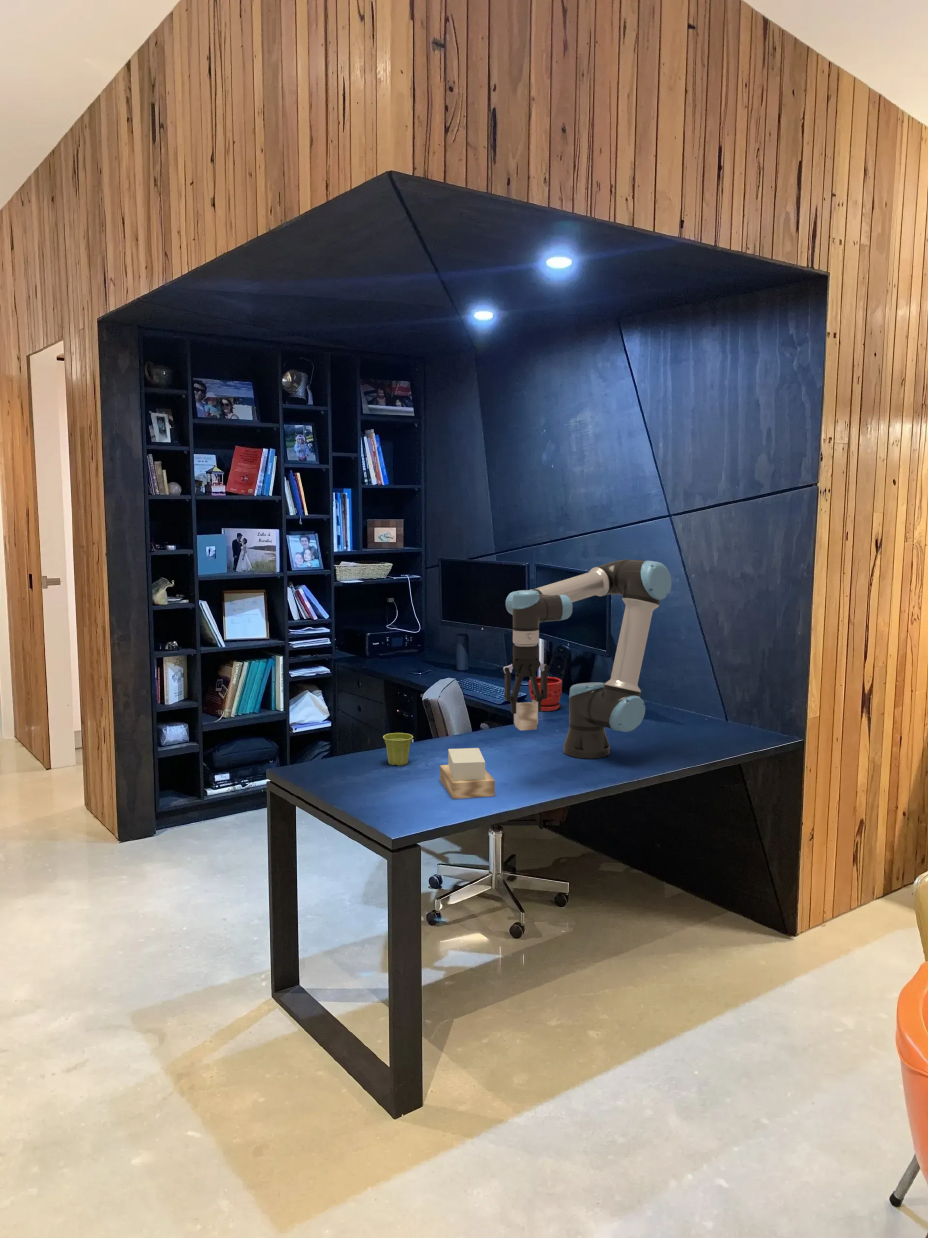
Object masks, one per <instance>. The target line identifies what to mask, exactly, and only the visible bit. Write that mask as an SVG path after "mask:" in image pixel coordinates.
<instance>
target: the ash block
mask: <svg viewBox="0 0 928 1238" xmlns="http://www.w3.org/2000/svg"><path fill="white" fill-rule="evenodd" d="M518 703H519V725H516V724H514V727H515V728H516V729H517V730H519V731H533V730H537V729H538V724H537V705H535V704H534V703H532V701H528V702H527V701H526V702H518Z"/></svg>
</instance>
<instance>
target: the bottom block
mask: <svg viewBox="0 0 928 1238" xmlns="http://www.w3.org/2000/svg"><path fill="white" fill-rule="evenodd" d="M439 780H440V782H441V785H443V787H444V788H445V789H446V791H447V793H448V795H450V797H451V799H453V800H458V799H459V800H460V799H471V798H484V797H495V796H496V780H495V779H494V777H492V775H491V774H490V773H489V772H488V771H487V769H485V779H484V780H456V781H453V778H452V775H451V772H450V769H449V766H448V764H442V765H441V764H440V765H439Z"/></svg>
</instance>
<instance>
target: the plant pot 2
mask: <svg viewBox="0 0 928 1238" xmlns="http://www.w3.org/2000/svg"><path fill="white" fill-rule="evenodd" d="M536 677H537V683H538V687H539V691H540V695H541V676H536ZM562 683H563V680H562V679H560V678H558V677H555V676H554V677H553V676H547V698H546V699H543V700H542V702H541V711H540V712H551V711H556V710H558V709H559V708H560V706H561V704H560V703H559V702H560V699H561V696H562V693H563V691H562V690H563V684H562ZM528 691H529V697H530V700H531V701H532V700H535V696H534V692H533V688H532V685H531V681H530V679H529V680H528Z"/></svg>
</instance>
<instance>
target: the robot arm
mask: <svg viewBox="0 0 928 1238" xmlns="http://www.w3.org/2000/svg"><path fill="white" fill-rule="evenodd" d="M671 588H672V576H671V574H670V572H669V569H668V568H667V567H666V566H665V564H663V563H662V562H659V561H653V560H642V559H641V560H639V559H638V560H637V559H620V560H614V561H611V562H608V563H605V564H602V565H599V566H595V567H592V568H591V569H590V570H589V571H588V572H585V573H582V574H579V575H576V576H573V577H570V578H566V579H563V580H559V581H556V582H553V583H549V584H547V585H543V586H539V587H537V588H536V587H535V588H532V589H526V590H525V589H522V590H516V591H512V592H510V593H508V595H507V597H506V599H505V608H506V611H507V612H508V613H509V614H510V615H512V643H513V645H512V662H511V663H510V664H509V665H506V666H505V665H503V666H502V670H503V674H504V689H503V690H504V692H503V695H504V698H503V699H504V700H506V701H507V702H510V712H511V714H512V715H513V724H514V725H515V724H516V725H519V703H520V702H519V701H518V698H519V694H520V689H521V687H522V686H521V685H522V683H523V682H522V681H523V680H524V678H525V677H529V680H530V681H531V685H532V688H533V693H534V696H535V700H531V702H532V703H534V704H535V705H537V725H538V724H539V713H540V712H542V711H541V702H542V700H543V699H546V698H547V677H548V672H549V668H550V666H549V665H547V664H546V663H541V661H540V646H539V645H538V644H539V643H540V624H541V623H546V622H556V621H557V622H560V621H564V620H568V619H569V618H570V617H571V616H572V614H573V603H574V602H578V601H580V600H584V599H587V598H590V597H593V596H594V597H595V596H598V597H603V596H604V597H605V596H608V595H617V596H622V598H621V599H622V601H623V603H624V605H625V607H624V608H625V609H624V612H623V616H622V617H623V618H622V621H621V627H620V631H619V637H618V641H617V645H616V646H617V647H616V649H615V650H616V651H615V656H614V660H613V665H612V670H611V674H610V679H609V680H607V681H606V682H599V681H598V682H596V681H595V682H581V683H576V684H573V685H571V686H570V688H569V696H568V731H567V734H566V737H565V741H564V744H563V753H564V754H565V755H566V756H569V757H572V758H579V759H600V758H605V757H607V755H608V756H609V755H610V753H611V747H610V742H609V740H608V736H607V733H606V728H608V729H612V730H614V731H617V732H624V733H628V732H631V731H633V730H635V729H636V728H638V727H639V726H640V725H641V723H642V721H643V720H644V717H645V714H646V705H645V702H644V700H643V699H642V698H641V694H642V690H641V689H640V687H639V685H638V683H639V679H640V674H641V670H642V669H641V668H642V665H643V660H644V656H645V651H646V645H647V641H648V636H649V631H650V626H651V621H652V617H653V612H654V611H655V610H656V609H658V608H659V607H660V603H661V600H664V599H665V598H666V597H667V596H668V595H669V594H670V592H671ZM513 670H514V672H515V676H514V678H515V679H514V682H513V687H512V674H511V673H512V672H513ZM538 670H539V671H540V677H541V695H540V691H539V687H538V683H537V677H538V676H537V671H538Z"/></svg>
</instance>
